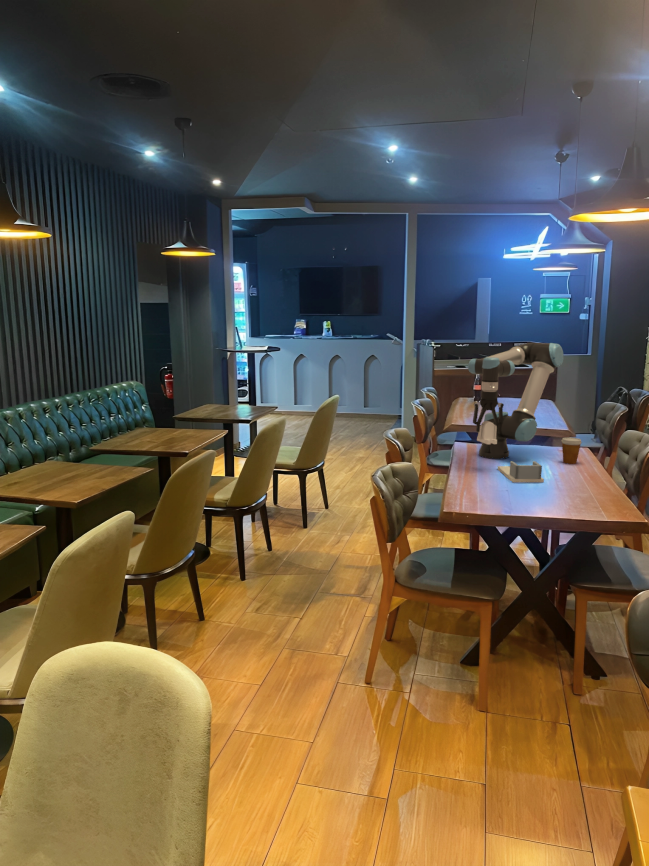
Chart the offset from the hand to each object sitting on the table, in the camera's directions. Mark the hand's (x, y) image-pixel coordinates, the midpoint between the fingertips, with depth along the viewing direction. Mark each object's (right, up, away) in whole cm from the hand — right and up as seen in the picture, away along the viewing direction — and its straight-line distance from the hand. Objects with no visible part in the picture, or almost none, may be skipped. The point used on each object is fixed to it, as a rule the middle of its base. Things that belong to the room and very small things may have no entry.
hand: (486, 438), depth 297 cm
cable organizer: (0, -2, 0) cm, 2 cm away
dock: (+13, -17, -9) cm, 23 cm away
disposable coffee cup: (+45, -12, +15) cm, 50 cm away
